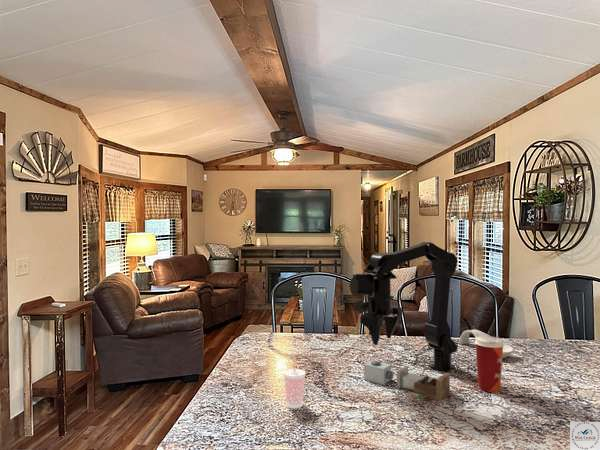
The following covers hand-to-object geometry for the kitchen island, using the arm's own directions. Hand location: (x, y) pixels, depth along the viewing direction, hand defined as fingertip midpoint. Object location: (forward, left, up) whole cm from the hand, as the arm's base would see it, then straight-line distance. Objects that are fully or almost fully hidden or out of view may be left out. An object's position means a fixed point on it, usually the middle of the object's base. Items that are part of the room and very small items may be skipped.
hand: (382, 341), depth 144 cm
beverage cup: (+34, -9, -12) cm, 37 cm away
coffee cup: (-11, +30, -12) cm, 34 cm away
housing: (+4, +17, -12) cm, 21 cm away
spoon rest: (-49, +18, -12) cm, 54 cm away
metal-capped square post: (+4, +13, -11) cm, 17 cm away
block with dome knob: (+3, 0, -12) cm, 12 cm away
